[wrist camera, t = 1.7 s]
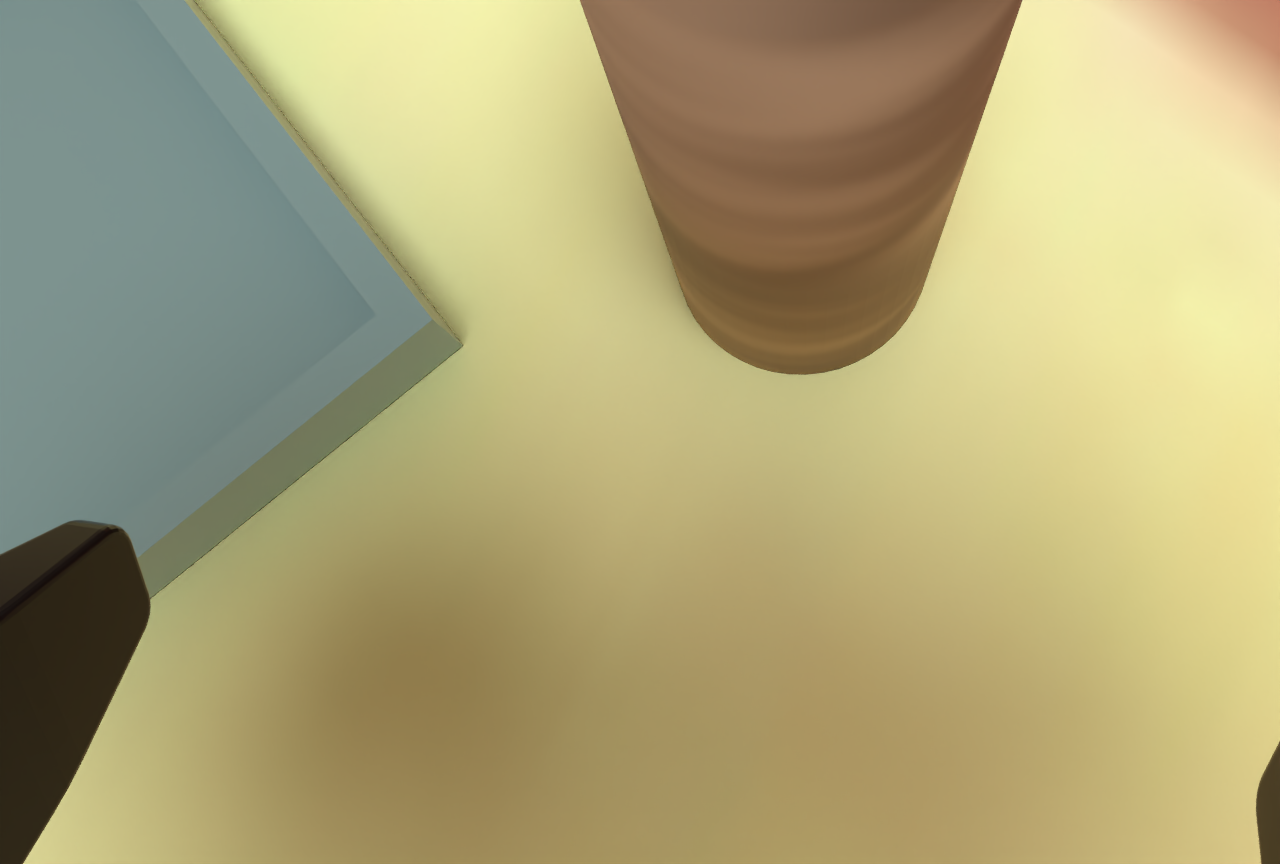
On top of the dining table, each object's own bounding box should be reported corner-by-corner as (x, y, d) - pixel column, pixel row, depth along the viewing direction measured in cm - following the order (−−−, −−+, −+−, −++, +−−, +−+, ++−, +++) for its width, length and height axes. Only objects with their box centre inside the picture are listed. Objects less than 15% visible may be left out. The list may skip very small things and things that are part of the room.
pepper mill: (784, 425, 22) (759, 152, 10) (628, 241, 24) (423, -219, 11) (981, 265, 22) (1215, -217, 10) (817, 89, 24) (832, -549, 11)
